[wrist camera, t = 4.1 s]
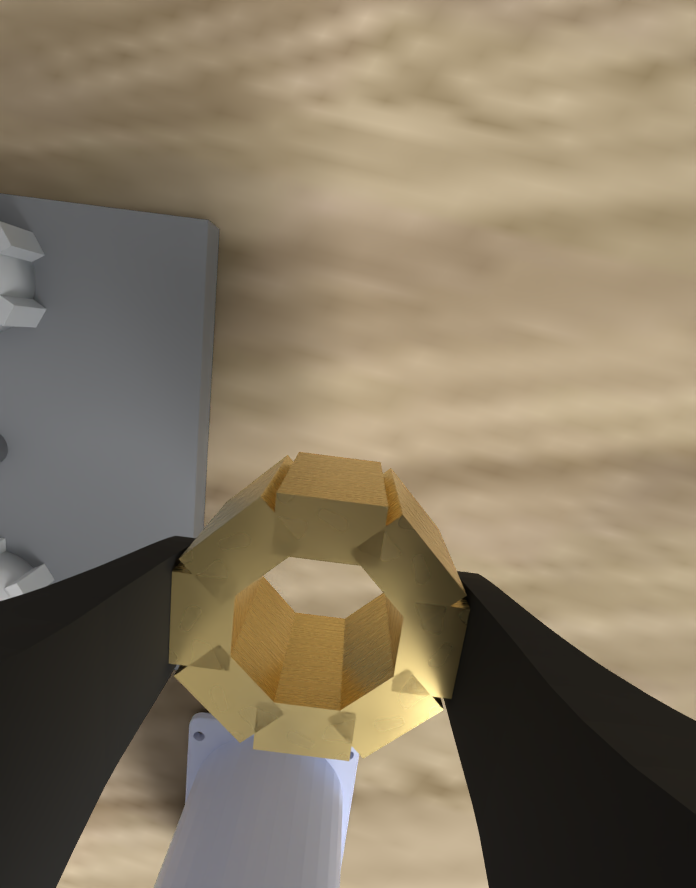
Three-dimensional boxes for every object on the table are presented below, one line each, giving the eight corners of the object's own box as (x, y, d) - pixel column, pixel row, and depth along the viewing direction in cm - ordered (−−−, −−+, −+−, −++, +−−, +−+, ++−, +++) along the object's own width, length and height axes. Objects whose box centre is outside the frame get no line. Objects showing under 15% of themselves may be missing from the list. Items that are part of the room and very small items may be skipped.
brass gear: (417, 667, 12) (436, 772, 9) (213, 641, 12) (166, 738, 9) (453, 471, 11) (489, 519, 8) (225, 442, 11) (174, 479, 8)
